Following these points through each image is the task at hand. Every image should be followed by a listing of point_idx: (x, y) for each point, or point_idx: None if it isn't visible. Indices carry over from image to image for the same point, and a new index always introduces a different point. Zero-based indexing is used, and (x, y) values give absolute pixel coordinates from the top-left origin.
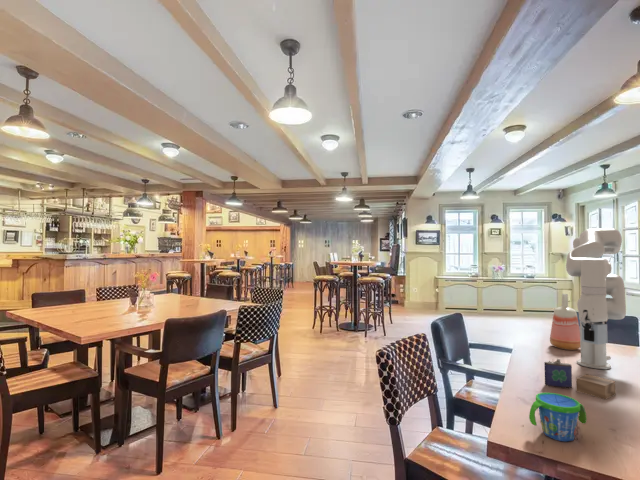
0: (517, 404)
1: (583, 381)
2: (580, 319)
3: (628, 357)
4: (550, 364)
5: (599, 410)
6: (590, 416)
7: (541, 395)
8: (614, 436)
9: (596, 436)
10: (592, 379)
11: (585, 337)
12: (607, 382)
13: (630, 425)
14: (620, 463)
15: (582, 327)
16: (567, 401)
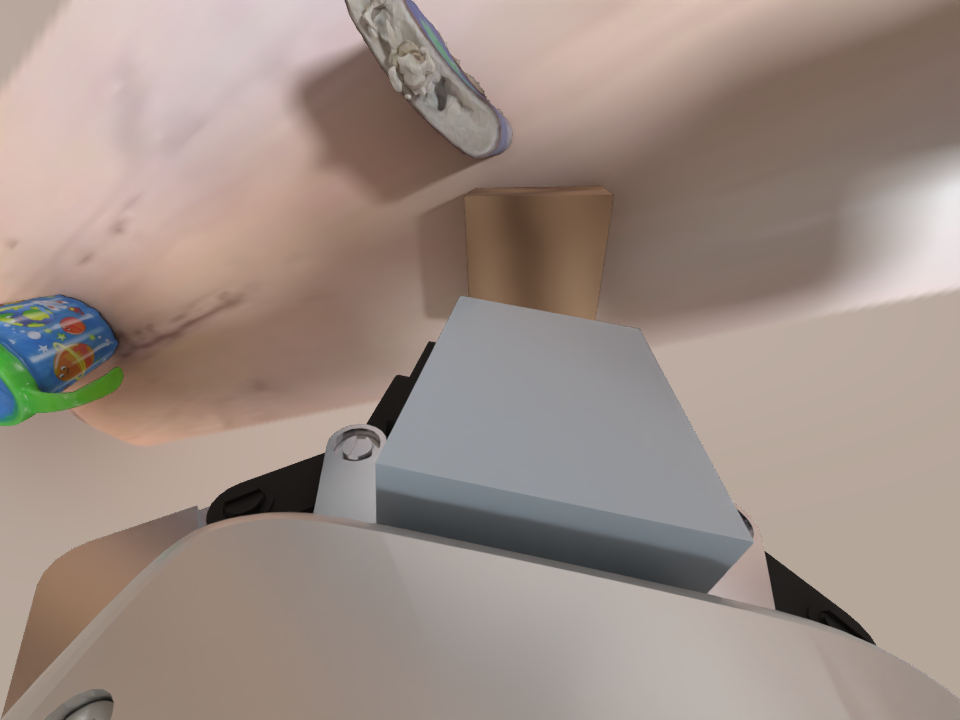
0: (77, 125)
1: (466, 234)
2: (36, 608)
3: None
4: (361, 33)
5: (348, 327)
6: (274, 328)
7: None
8: (229, 397)
9: (184, 376)
10: (522, 258)
11: (398, 376)
12: None
13: (329, 403)
14: (142, 429)
15: (412, 405)
16: (2, 391)
